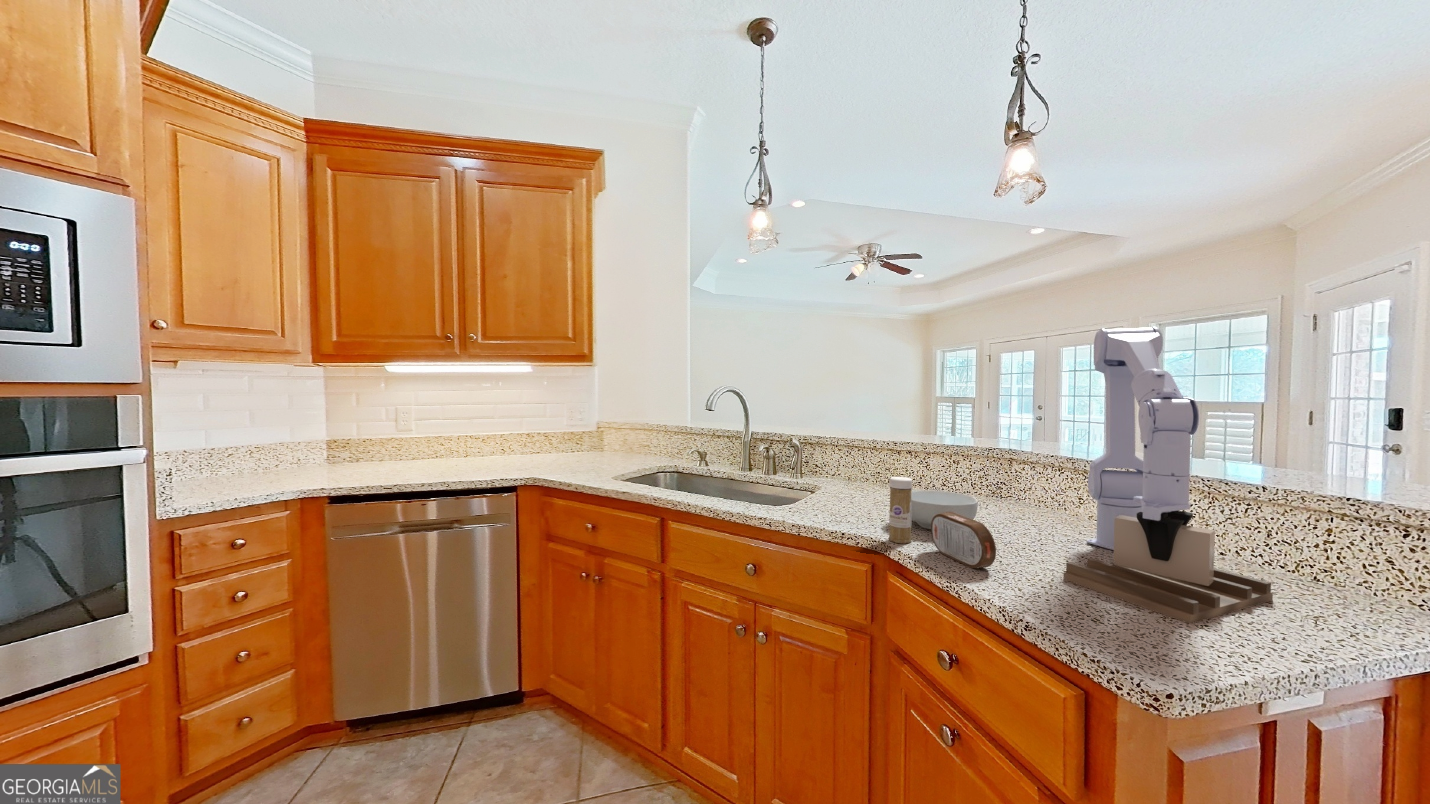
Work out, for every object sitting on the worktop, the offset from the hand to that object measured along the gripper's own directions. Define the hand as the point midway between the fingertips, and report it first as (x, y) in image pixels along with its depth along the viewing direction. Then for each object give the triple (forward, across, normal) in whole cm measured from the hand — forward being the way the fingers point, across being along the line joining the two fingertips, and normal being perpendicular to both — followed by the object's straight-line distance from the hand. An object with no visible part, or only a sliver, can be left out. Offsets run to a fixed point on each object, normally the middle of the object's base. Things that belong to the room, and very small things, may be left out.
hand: (1163, 557), depth 86 cm
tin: (+6, +12, -27) cm, 30 cm away
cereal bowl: (+6, -6, -43) cm, 44 cm away
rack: (+5, 0, 0) cm, 5 cm away
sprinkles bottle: (+5, +11, -41) cm, 43 cm away
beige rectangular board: (+3, 0, 0) cm, 3 cm away
